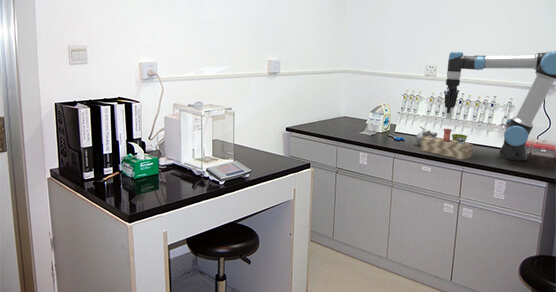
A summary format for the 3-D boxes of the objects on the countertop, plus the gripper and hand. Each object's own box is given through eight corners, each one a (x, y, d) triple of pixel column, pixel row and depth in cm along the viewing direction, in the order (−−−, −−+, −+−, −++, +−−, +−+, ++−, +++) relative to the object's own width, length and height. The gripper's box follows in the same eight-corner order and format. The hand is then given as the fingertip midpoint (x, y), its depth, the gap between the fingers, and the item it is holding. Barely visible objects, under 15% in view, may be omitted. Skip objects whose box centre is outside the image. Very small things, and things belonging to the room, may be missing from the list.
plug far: (437, 148, 281) (438, 133, 279) (433, 149, 278) (434, 134, 276) (430, 146, 285) (432, 132, 282) (426, 147, 282) (428, 133, 279)
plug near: (464, 154, 268) (466, 138, 266) (460, 155, 265) (462, 139, 263) (457, 152, 271) (459, 137, 269) (453, 153, 268) (455, 138, 266)
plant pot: (467, 151, 283) (468, 137, 281) (451, 149, 285) (452, 136, 283) (464, 147, 292) (465, 134, 290) (448, 146, 294) (450, 133, 292)
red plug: (451, 145, 274) (453, 129, 271) (447, 145, 271) (449, 130, 268) (444, 143, 277) (446, 128, 275) (440, 144, 274) (442, 129, 272)
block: (471, 157, 268) (472, 144, 266) (462, 159, 262) (464, 146, 260) (429, 147, 289) (430, 135, 287) (420, 150, 282) (421, 137, 280)
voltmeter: (435, 148, 287) (437, 133, 285) (417, 148, 287) (419, 133, 285) (422, 139, 313) (424, 125, 311) (406, 139, 313) (407, 125, 311)
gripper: (453, 77, 272) (448, 116, 277) (441, 78, 263) (437, 118, 269) (464, 78, 266) (460, 118, 272) (453, 79, 258) (448, 120, 263)
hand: (448, 118), depth 270 cm, fingers closed
